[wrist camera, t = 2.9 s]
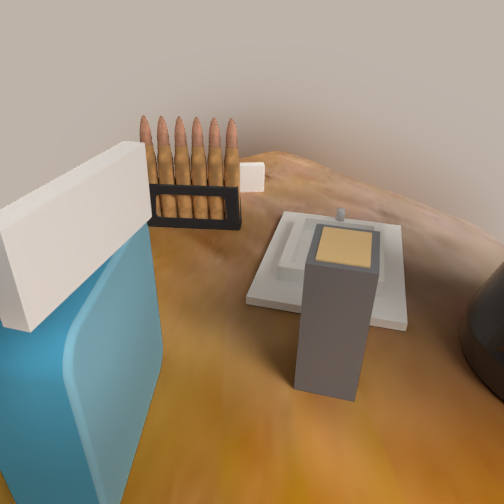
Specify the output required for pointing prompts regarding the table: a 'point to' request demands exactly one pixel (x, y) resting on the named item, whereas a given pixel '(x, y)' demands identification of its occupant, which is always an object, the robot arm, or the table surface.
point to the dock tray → (294, 257)
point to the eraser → (252, 177)
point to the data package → (82, 385)
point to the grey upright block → (336, 309)
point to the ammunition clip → (193, 178)
